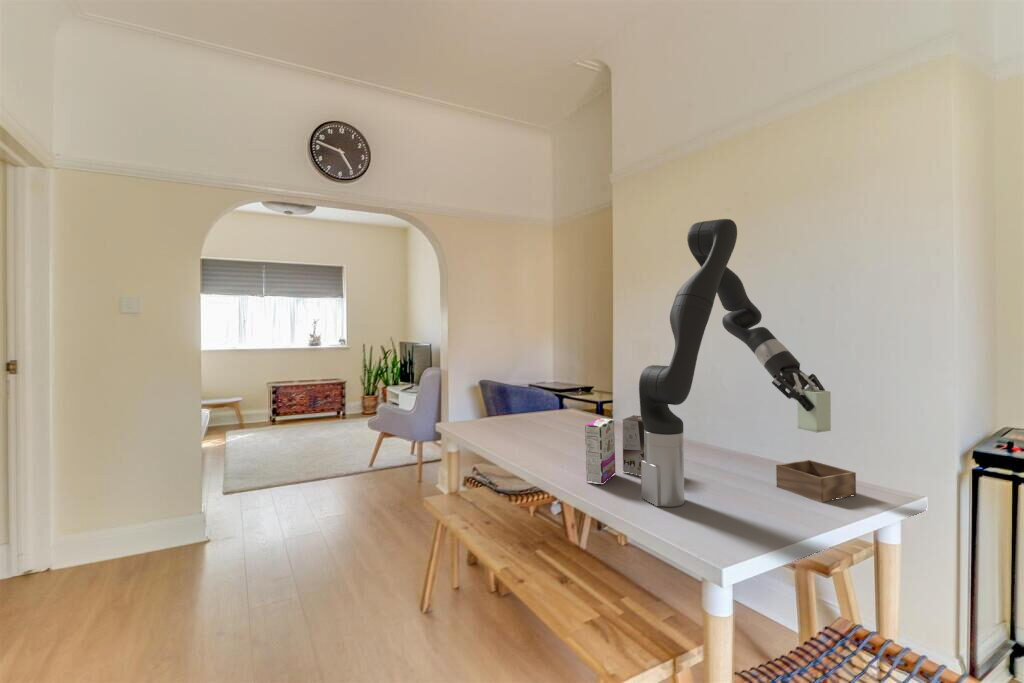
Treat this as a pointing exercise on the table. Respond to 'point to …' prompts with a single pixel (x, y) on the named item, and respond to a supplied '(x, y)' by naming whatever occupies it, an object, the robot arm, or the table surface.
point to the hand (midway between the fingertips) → (819, 408)
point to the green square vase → (816, 412)
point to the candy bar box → (600, 450)
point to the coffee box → (633, 444)
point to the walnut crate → (816, 480)
